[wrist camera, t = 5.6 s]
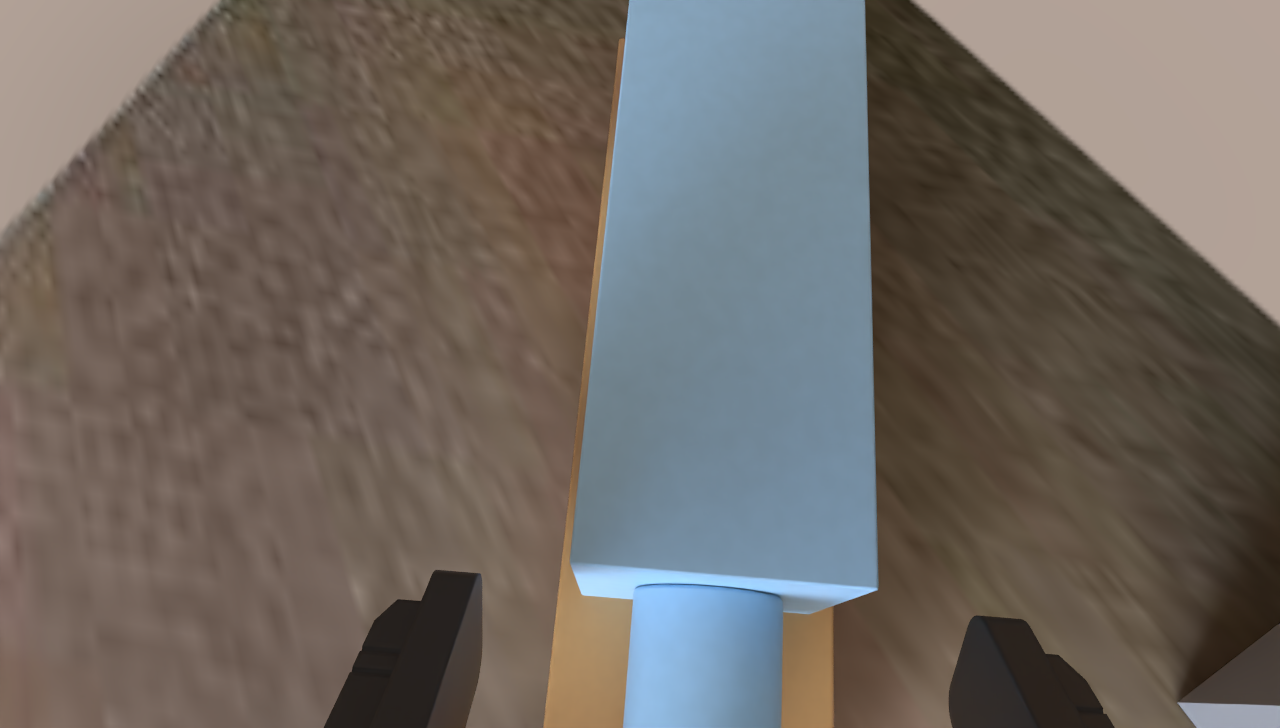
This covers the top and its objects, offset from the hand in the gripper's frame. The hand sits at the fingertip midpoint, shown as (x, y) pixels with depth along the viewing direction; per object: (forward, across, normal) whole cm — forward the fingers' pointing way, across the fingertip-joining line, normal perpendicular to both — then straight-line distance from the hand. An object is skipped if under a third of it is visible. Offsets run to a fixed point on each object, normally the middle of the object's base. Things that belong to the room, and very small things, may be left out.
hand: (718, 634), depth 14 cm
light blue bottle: (+7, 0, -1) cm, 7 cm away
